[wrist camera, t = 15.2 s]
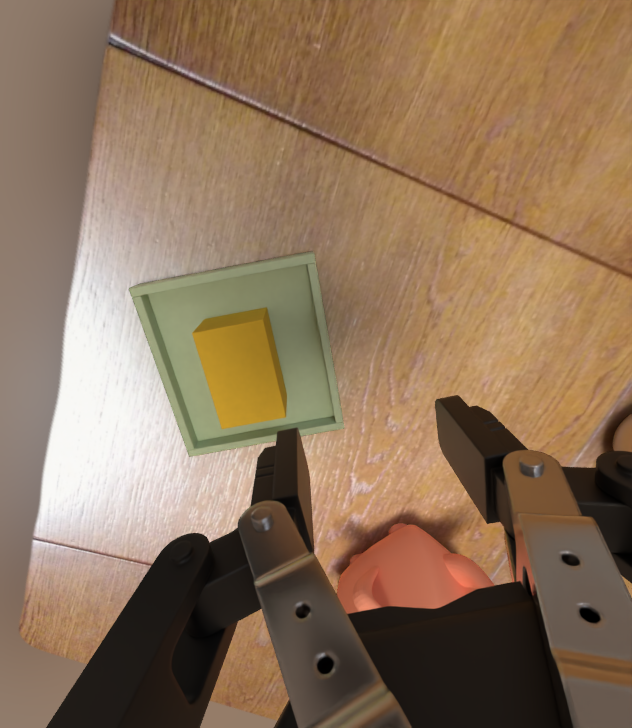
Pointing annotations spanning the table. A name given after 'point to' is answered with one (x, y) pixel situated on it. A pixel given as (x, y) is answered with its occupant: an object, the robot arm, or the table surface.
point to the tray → (291, 334)
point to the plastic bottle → (623, 436)
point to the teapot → (407, 573)
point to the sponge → (242, 367)
